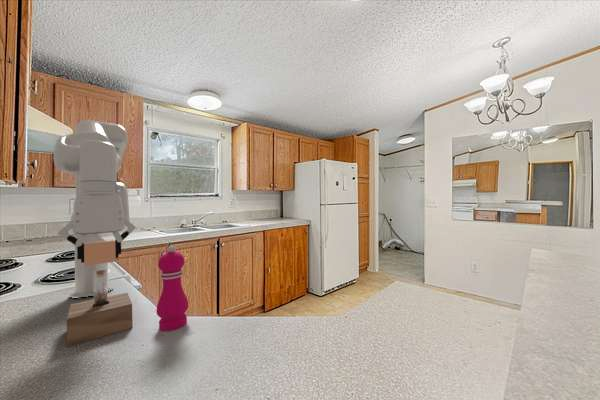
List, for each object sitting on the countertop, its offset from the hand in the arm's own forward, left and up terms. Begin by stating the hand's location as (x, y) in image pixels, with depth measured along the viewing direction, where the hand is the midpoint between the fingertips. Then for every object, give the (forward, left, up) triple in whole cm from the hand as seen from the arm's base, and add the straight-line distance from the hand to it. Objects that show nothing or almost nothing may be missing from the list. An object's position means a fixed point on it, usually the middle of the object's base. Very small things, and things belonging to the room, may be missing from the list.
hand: (100, 258), depth 63 cm
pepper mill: (+12, +14, -18) cm, 25 cm away
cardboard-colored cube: (0, 0, -1) cm, 1 cm away
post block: (0, 0, -17) cm, 17 cm away
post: (0, 0, -12) cm, 12 cm away
